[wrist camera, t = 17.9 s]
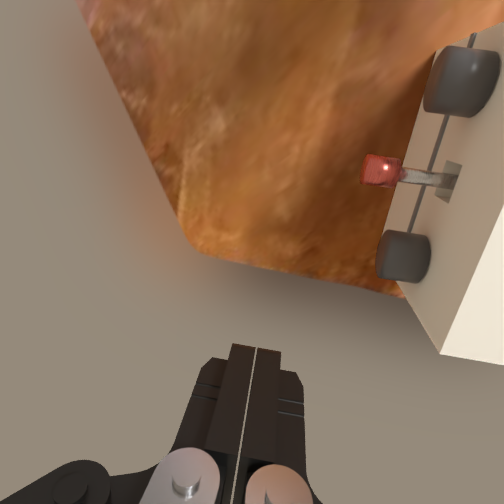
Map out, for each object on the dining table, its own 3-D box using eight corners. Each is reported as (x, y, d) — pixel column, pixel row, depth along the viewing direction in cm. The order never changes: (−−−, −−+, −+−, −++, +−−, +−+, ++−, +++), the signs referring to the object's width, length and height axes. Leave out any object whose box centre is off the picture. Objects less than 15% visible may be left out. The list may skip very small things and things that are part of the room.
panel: (434, 50, 34) (595, -21, 16) (507, 59, 34) (760, -3, 16) (375, 250, 43) (436, 353, 25) (433, 259, 43) (539, 371, 24)
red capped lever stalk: (471, 167, 28) (486, 172, 26) (460, 196, 29) (474, 203, 27) (365, 152, 29) (371, 155, 26) (358, 180, 30) (363, 186, 27)
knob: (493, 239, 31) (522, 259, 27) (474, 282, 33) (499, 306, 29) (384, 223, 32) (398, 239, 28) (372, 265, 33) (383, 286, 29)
